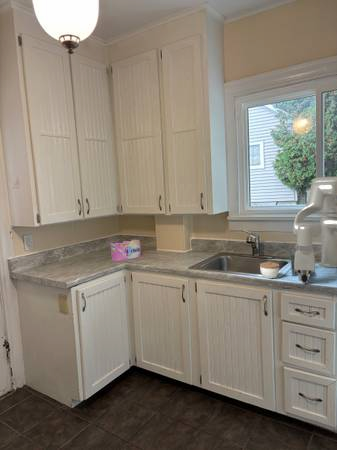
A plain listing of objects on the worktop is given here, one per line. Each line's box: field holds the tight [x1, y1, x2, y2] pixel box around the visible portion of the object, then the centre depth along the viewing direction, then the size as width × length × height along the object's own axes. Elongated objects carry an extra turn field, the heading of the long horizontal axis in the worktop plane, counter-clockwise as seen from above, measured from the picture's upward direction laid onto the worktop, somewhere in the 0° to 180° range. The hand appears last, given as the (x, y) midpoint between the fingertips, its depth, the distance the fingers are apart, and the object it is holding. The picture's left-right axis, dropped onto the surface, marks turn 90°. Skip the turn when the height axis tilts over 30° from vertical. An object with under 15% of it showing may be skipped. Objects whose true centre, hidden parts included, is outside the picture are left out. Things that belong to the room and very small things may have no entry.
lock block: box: [297, 270, 310, 282], centre depth 186 cm, size 7×5×5 cm
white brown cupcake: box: [259, 261, 280, 279], centre depth 192 cm, size 11×11×9 cm
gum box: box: [110, 238, 142, 263], centre depth 260 cm, size 24×8×14 cm, turn 130°
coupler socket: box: [290, 254, 314, 278], centre depth 200 cm, size 18×11×9 cm, turn 162°
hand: (304, 282), depth 178 cm, fingers closed
